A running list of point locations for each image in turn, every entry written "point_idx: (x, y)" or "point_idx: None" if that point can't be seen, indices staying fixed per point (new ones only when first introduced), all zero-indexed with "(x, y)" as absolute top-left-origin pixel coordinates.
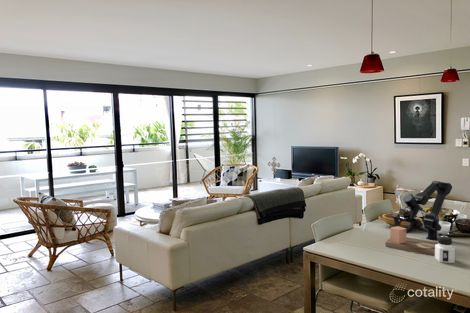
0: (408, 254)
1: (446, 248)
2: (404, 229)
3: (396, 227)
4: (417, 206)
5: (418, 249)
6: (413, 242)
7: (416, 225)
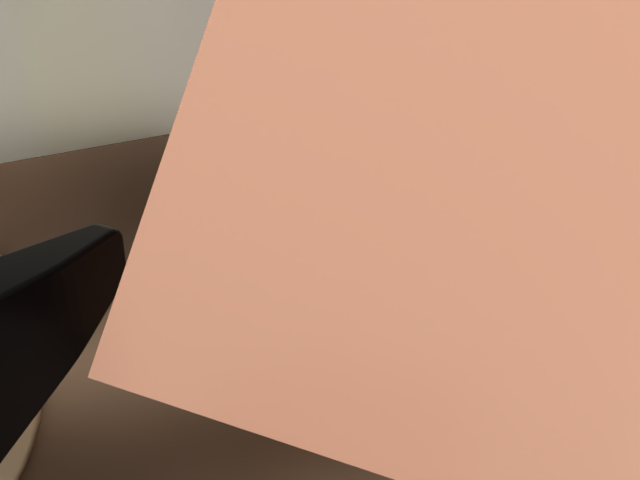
0: (112, 3)
1: None
2: (146, 238)
3: (549, 228)
4: None
5: None
6: (126, 457)
7: None
